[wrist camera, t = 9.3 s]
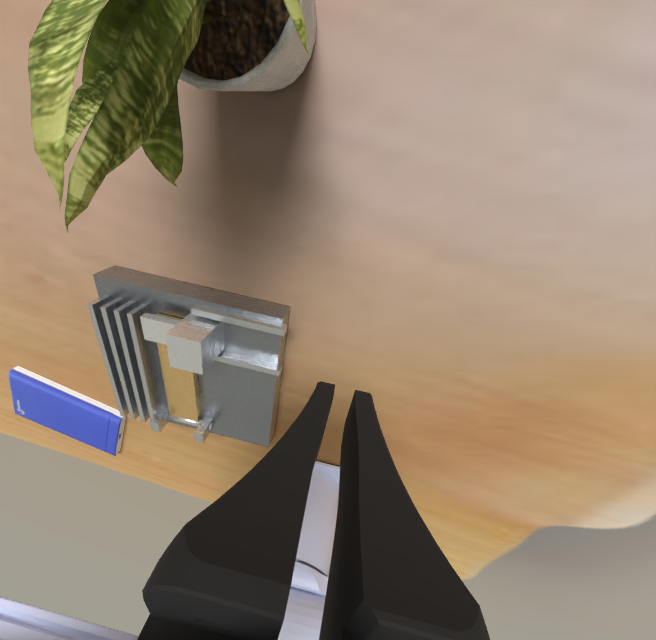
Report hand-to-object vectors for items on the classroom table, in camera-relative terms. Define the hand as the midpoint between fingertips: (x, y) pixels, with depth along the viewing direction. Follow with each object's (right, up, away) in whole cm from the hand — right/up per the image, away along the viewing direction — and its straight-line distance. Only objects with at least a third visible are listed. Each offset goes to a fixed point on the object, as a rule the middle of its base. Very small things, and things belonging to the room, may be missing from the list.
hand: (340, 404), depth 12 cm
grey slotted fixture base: (-12, 0, +14) cm, 19 cm away
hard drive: (-31, -7, +22) cm, 39 cm away
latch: (-11, +3, +10) cm, 15 cm away
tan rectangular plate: (-13, -1, +13) cm, 18 cm away
